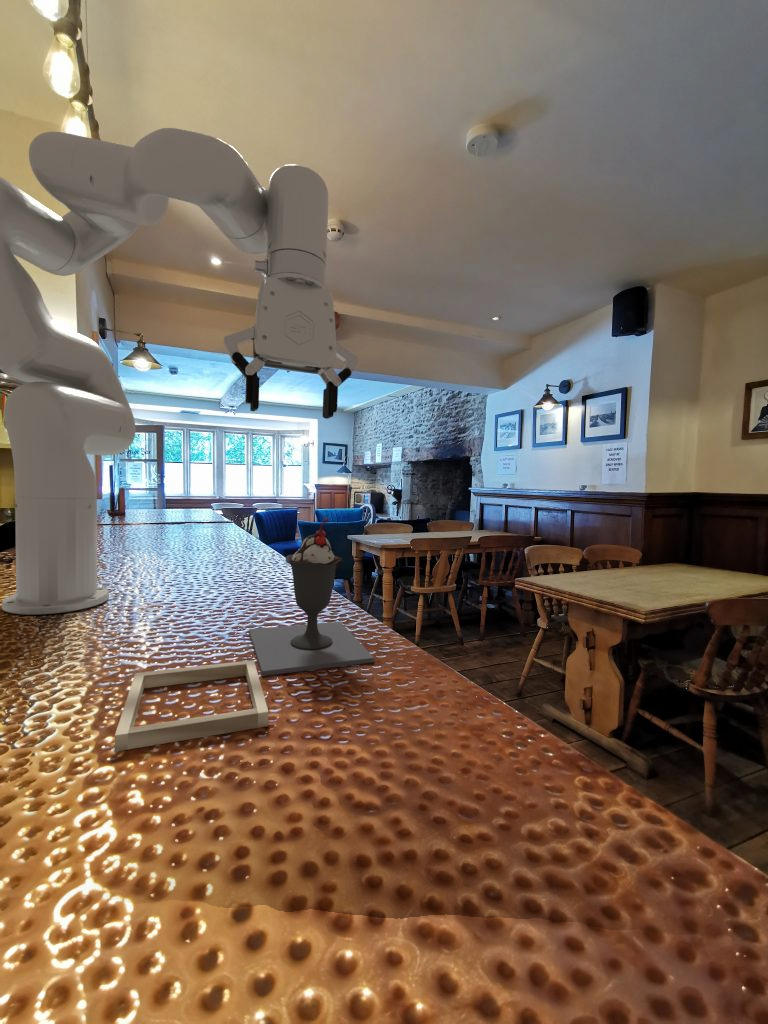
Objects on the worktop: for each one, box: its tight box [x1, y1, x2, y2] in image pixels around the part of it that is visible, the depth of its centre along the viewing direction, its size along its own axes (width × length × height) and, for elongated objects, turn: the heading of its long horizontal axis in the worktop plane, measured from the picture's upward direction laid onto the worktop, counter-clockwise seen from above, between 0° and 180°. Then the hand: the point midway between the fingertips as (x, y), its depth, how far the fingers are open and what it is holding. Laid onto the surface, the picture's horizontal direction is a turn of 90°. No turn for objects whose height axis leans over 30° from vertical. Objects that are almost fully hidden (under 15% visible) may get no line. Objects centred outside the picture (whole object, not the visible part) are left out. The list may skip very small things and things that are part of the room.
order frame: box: [114, 659, 269, 753], centre depth 38 cm, size 11×11×1 cm
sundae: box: [285, 517, 344, 650], centre depth 52 cm, size 7×7×15 cm
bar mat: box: [248, 621, 375, 677], centre depth 52 cm, size 13×12×1 cm
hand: (292, 413), depth 58 cm, fingers open, 9 cm apart
